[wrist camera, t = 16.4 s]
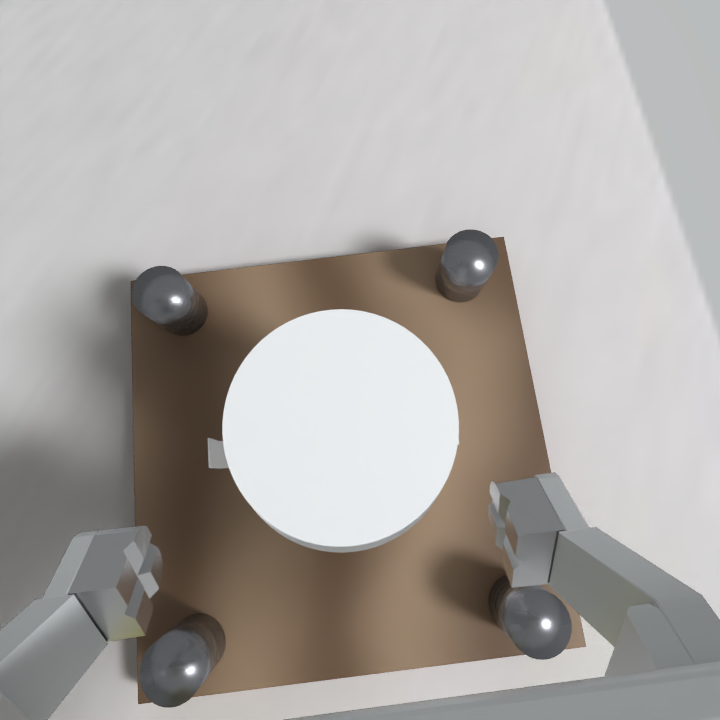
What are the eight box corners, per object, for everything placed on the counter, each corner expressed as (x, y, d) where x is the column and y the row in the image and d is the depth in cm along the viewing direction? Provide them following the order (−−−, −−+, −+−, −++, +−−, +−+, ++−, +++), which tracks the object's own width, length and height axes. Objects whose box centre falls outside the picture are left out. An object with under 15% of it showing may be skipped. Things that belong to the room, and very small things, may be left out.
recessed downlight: (245, 553, 18) (132, 644, 9) (236, 370, 20) (131, 271, 10) (456, 529, 19) (576, 590, 9) (431, 351, 20) (511, 239, 11)
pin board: (152, 689, 18) (100, 742, 15) (143, 291, 22) (99, 255, 18) (572, 635, 19) (621, 675, 15) (496, 249, 22) (521, 206, 19)
